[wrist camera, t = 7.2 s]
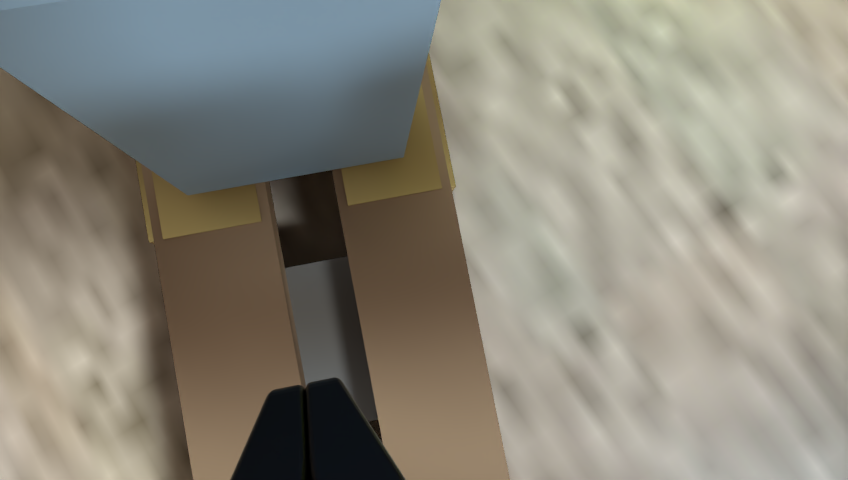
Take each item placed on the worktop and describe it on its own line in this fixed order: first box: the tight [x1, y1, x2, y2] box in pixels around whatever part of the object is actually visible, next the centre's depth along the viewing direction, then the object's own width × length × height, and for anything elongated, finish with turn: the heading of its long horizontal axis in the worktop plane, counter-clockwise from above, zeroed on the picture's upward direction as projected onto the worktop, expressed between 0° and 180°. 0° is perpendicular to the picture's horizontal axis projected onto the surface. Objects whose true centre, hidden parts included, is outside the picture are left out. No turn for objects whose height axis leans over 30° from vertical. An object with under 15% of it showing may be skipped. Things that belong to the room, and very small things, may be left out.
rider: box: [0, 0, 441, 195], centre depth 12 cm, size 4×4×10 cm
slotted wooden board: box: [135, 52, 510, 480], centre depth 16 cm, size 18×6×2 cm, turn 11°
